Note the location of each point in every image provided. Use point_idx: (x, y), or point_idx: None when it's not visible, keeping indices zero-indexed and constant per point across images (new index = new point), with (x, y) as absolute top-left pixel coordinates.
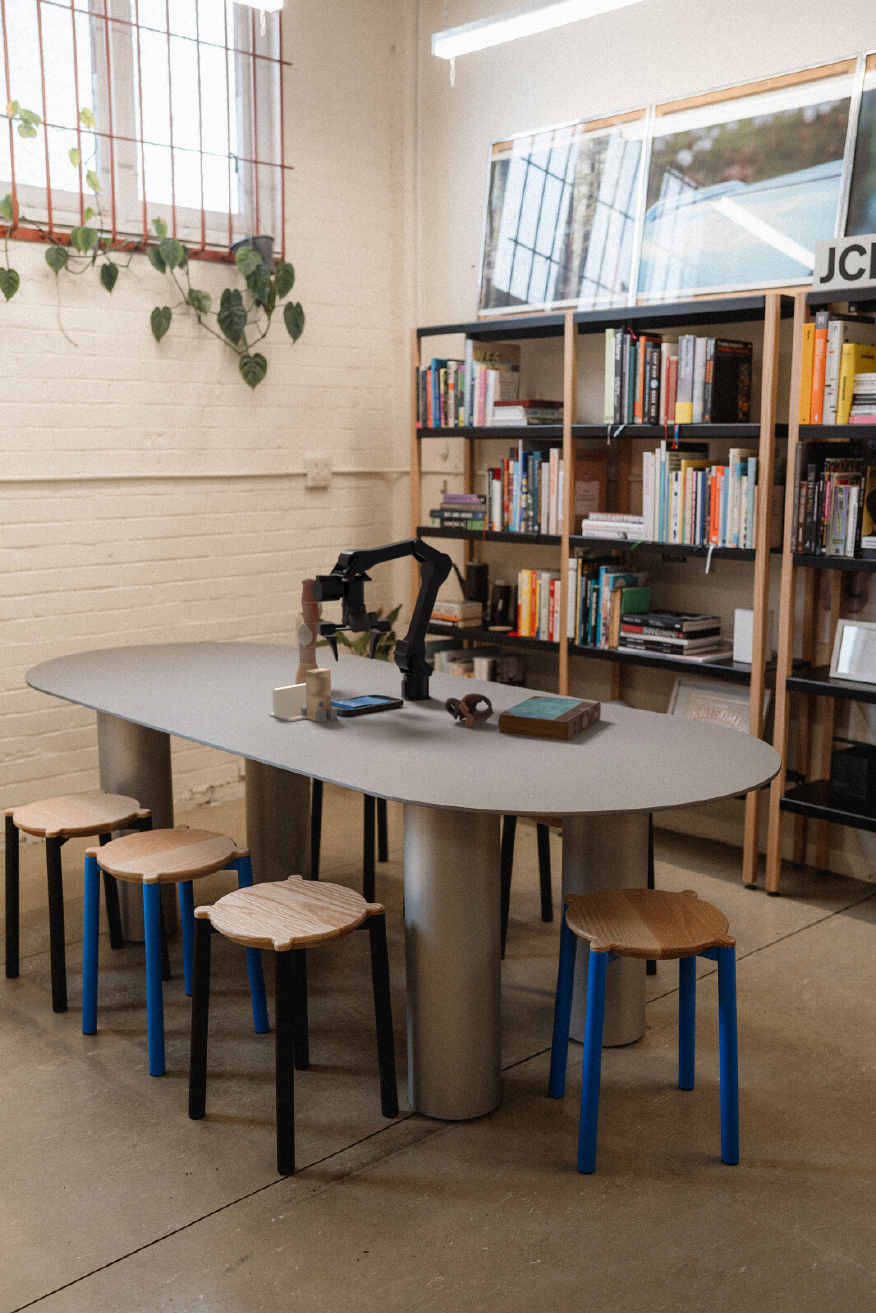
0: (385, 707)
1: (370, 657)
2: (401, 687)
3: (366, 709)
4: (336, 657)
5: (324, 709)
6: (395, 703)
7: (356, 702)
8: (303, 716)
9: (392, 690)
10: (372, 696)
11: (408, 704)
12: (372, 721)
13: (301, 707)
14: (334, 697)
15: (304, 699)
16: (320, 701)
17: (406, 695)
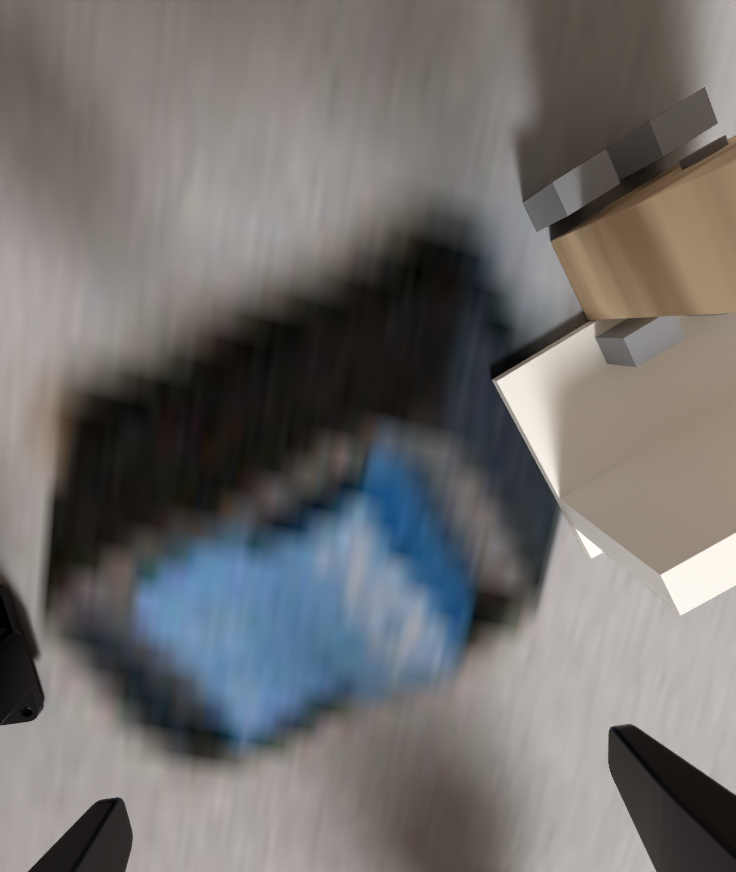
0: (173, 444)
1: (121, 844)
2: (3, 719)
3: (298, 417)
4: (673, 766)
5: (638, 193)
6: (98, 537)
7: (328, 610)
8: None
9: None
10: (216, 733)
11: (16, 492)
12: (314, 36)
13: (708, 425)
14: (424, 746)
15: (723, 448)
16: (724, 145)
17: (1, 635)
